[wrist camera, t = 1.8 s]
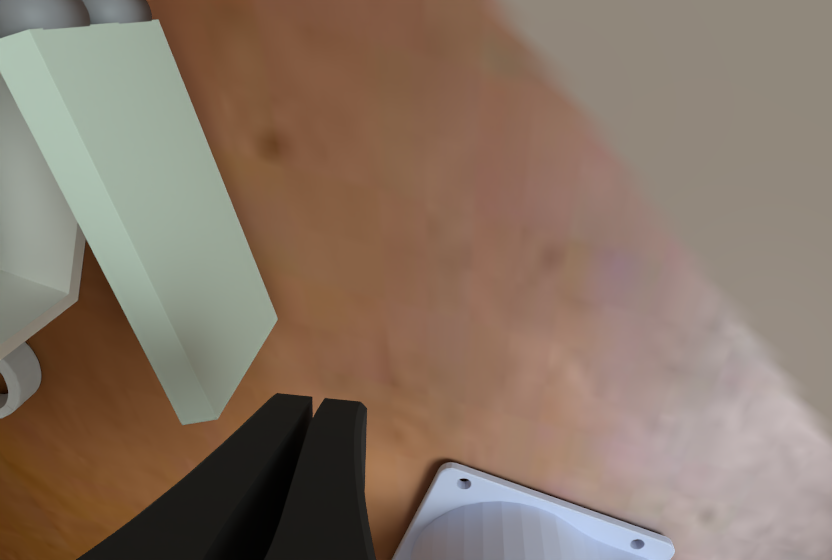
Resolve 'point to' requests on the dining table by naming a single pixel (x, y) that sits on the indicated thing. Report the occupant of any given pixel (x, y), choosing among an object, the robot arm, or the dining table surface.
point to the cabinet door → (141, 188)
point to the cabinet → (32, 234)
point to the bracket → (19, 378)
